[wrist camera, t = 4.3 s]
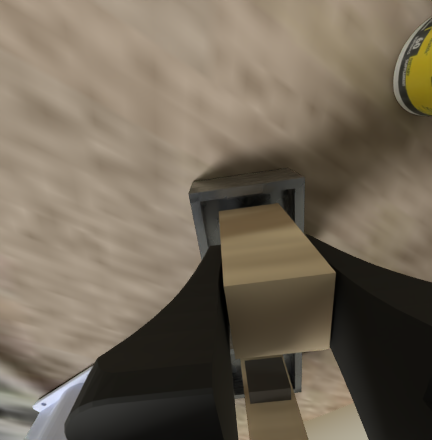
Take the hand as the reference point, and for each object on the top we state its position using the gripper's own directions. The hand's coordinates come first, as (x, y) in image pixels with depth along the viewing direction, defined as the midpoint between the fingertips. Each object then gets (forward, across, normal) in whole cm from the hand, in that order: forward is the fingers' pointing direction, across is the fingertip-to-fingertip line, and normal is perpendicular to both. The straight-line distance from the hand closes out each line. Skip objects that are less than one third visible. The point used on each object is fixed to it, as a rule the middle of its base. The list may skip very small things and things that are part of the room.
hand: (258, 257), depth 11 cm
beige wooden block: (+2, 0, 0) cm, 2 cm away
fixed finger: (+3, 0, +12) cm, 12 cm away
